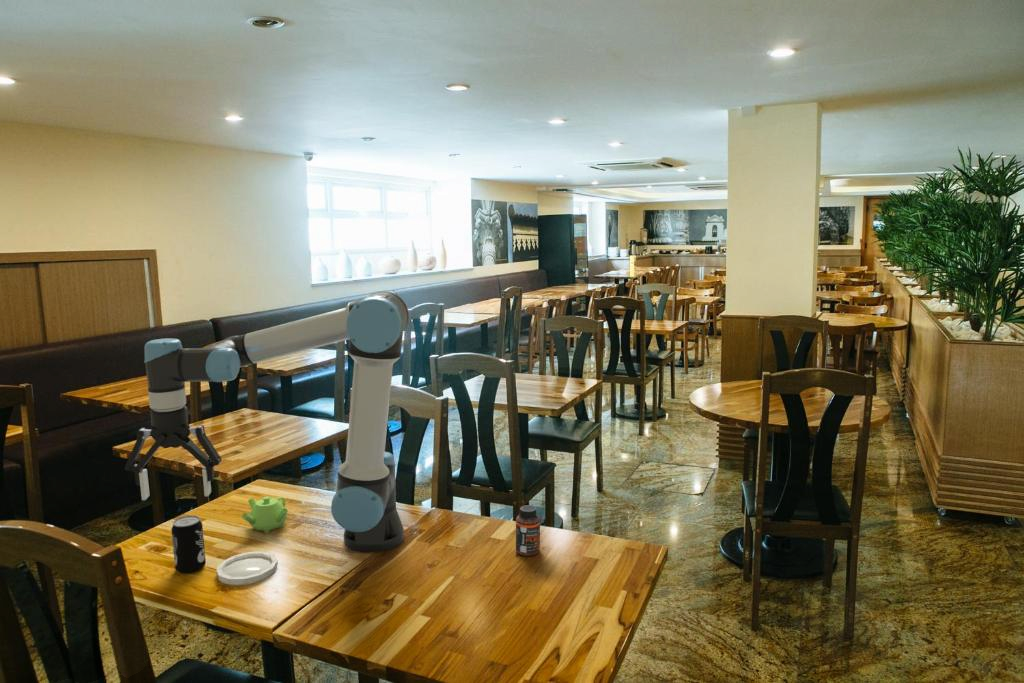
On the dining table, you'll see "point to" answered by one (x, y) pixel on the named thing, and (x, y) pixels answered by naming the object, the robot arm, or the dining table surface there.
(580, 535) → the dining table surface
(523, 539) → the supplement bottle
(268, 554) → the saucer
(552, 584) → the dining table surface
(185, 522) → the beverage can
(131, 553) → the dining table surface
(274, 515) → the green rounded body
